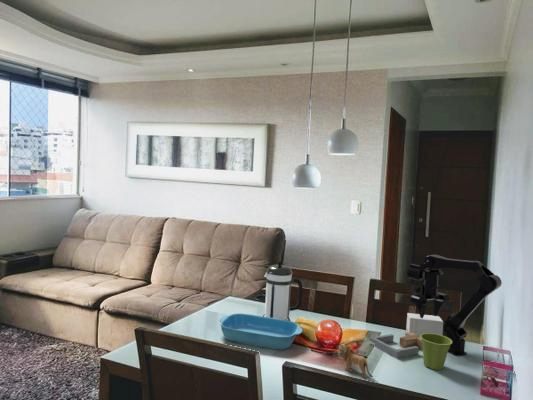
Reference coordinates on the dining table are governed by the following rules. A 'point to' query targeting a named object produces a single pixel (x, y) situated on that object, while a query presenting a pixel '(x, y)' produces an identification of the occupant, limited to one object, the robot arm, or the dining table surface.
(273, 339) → the casserole dish
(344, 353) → the lion figurine
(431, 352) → the plant pot
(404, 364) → the dining table surface
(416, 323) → the supplement box
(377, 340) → the dock
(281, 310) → the coffee press
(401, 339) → the t block
